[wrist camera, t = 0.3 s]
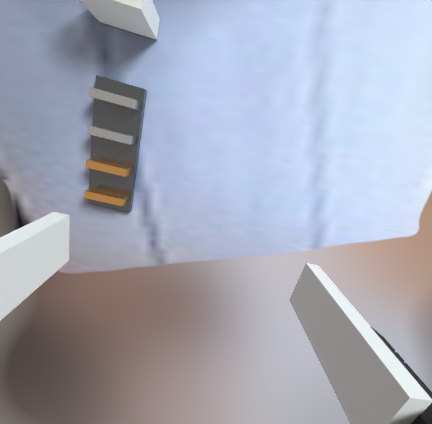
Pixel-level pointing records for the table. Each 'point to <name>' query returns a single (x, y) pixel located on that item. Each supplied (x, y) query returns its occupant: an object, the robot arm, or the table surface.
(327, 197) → the table surface
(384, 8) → the table surface
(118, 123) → the rack
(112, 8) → the panel
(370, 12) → the table surface
